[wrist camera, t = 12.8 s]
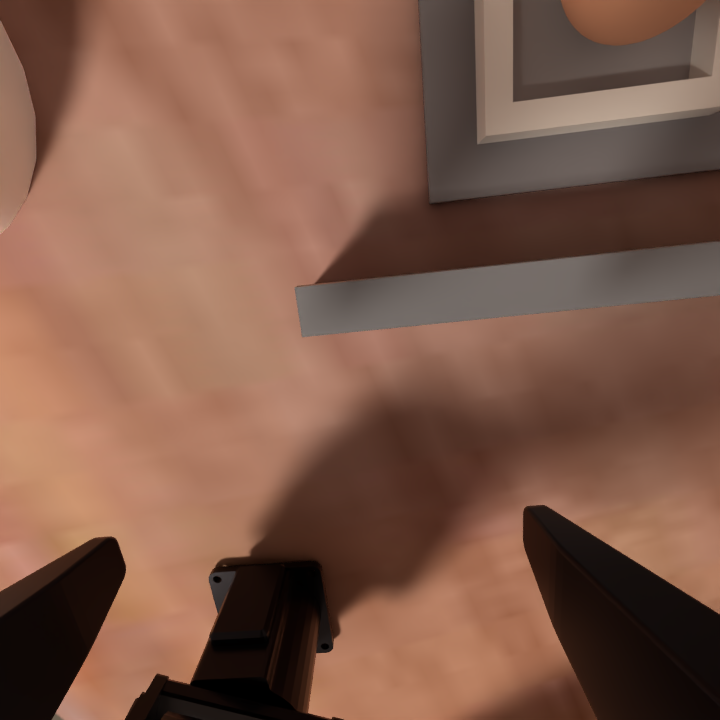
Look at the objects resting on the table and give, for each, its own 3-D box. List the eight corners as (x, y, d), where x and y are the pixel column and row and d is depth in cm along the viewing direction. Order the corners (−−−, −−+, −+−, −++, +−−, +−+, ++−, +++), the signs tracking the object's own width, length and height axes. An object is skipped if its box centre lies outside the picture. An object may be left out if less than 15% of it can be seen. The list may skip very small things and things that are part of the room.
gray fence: (859, 261, 17) (1018, 265, 13) (317, 316, 18) (302, 337, 14) (869, 217, 16) (1038, 207, 12) (312, 278, 18) (294, 287, 13)
